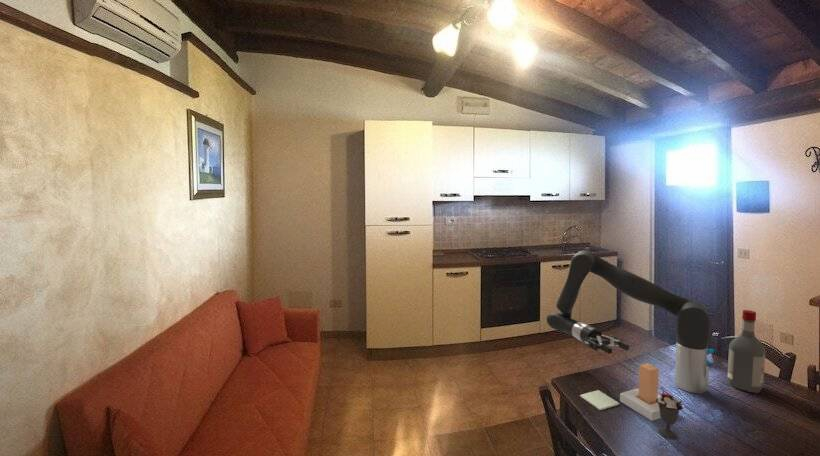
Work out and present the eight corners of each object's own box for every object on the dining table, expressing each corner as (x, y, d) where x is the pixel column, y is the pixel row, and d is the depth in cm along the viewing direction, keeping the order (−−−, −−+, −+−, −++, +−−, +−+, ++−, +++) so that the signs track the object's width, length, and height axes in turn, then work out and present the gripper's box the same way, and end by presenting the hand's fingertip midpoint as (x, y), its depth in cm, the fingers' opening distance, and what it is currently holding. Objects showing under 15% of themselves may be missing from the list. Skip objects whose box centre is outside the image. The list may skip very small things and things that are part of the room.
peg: (646, 402, 124) (647, 363, 123) (657, 408, 120) (658, 368, 119) (638, 404, 123) (639, 365, 121) (648, 411, 119) (650, 370, 118)
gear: (704, 353, 156) (717, 345, 148) (713, 366, 152) (727, 359, 144) (681, 357, 156) (692, 349, 148) (689, 370, 152) (702, 363, 144)
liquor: (764, 387, 131) (769, 312, 128) (758, 395, 126) (763, 317, 123) (732, 377, 138) (736, 306, 136) (725, 385, 133) (729, 311, 130)
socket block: (643, 394, 129) (643, 386, 129) (677, 412, 118) (677, 404, 117) (619, 400, 125) (620, 393, 125) (651, 420, 114) (652, 412, 114)
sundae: (649, 427, 111) (651, 383, 109) (668, 425, 111) (670, 382, 110) (666, 441, 104) (668, 395, 103) (686, 440, 105) (688, 394, 103)
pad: (598, 391, 132) (598, 390, 132) (619, 404, 123) (619, 403, 123) (580, 396, 129) (580, 394, 129) (600, 410, 120) (600, 408, 120)
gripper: (573, 327, 143) (606, 343, 128) (599, 322, 148) (634, 337, 132) (572, 344, 144) (605, 362, 129) (598, 339, 148) (633, 356, 133)
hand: (619, 349), depth 131 cm, fingers open, 8 cm apart
